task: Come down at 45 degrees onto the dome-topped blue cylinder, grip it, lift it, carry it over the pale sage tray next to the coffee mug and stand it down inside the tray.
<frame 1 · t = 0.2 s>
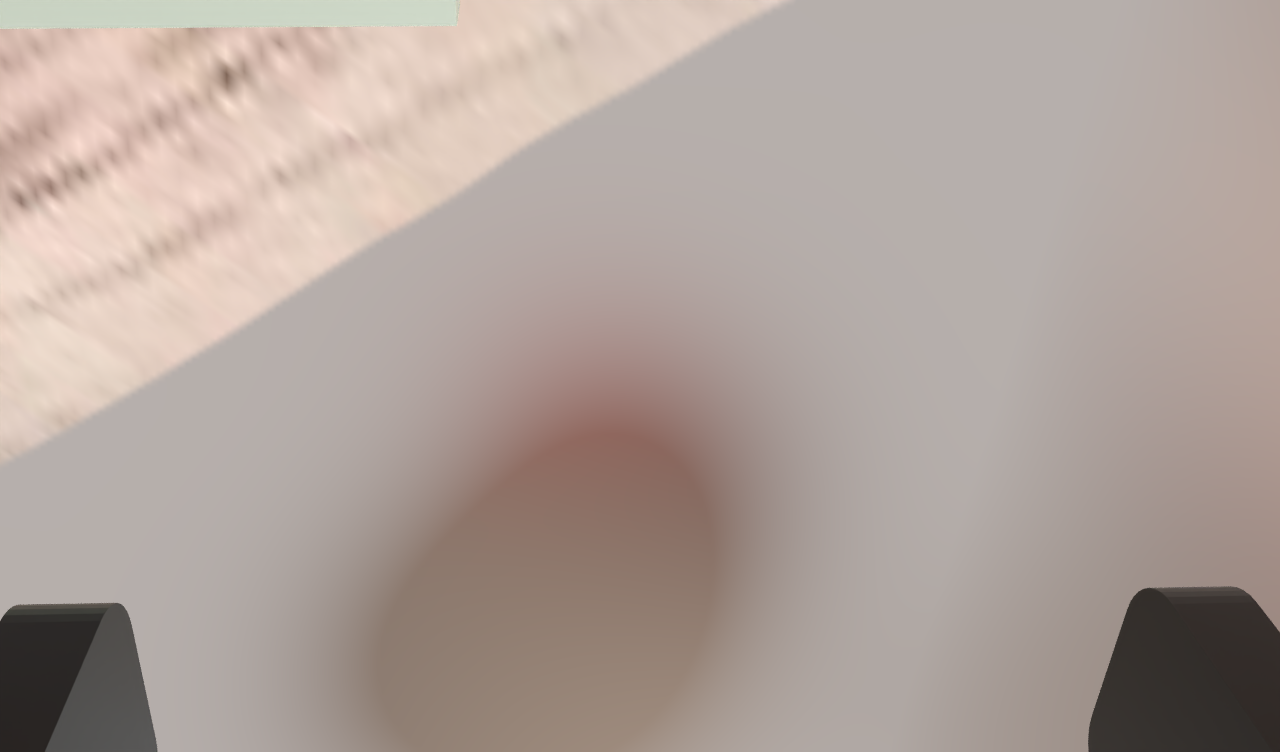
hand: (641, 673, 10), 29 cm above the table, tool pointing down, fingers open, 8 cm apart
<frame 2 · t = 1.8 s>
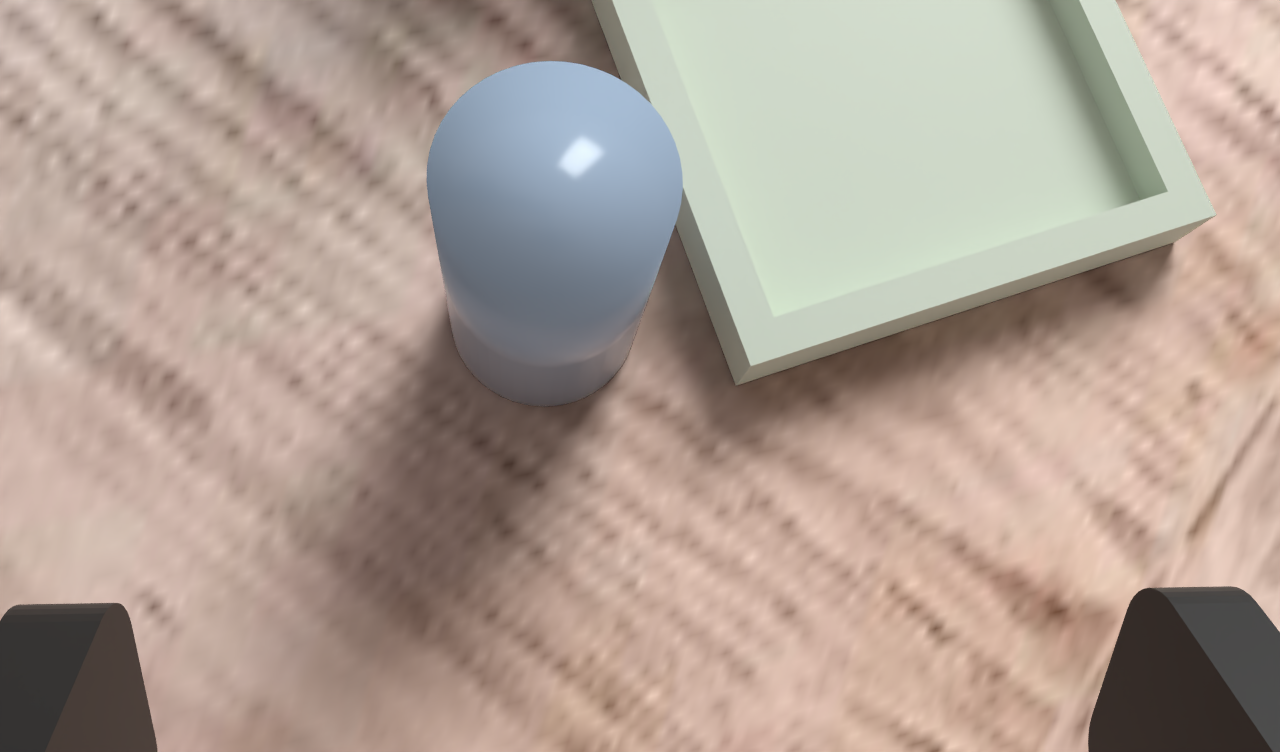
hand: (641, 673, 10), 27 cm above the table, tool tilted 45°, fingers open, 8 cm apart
dome-topped blue cylinder: (544, 316, 38), on the table
sage tray: (872, 95, 41), on the table
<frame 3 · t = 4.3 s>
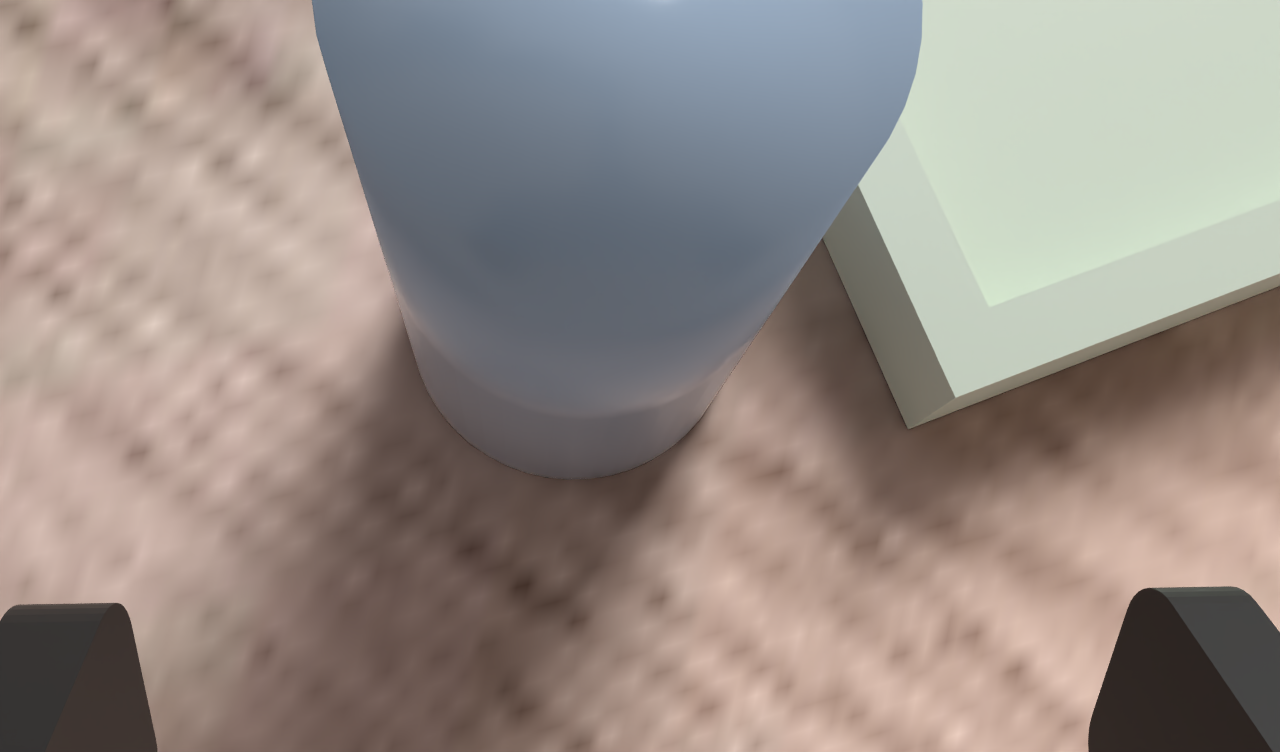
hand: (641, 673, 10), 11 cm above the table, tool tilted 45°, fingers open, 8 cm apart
dome-topped blue cylinder: (573, 321, 22), on the table
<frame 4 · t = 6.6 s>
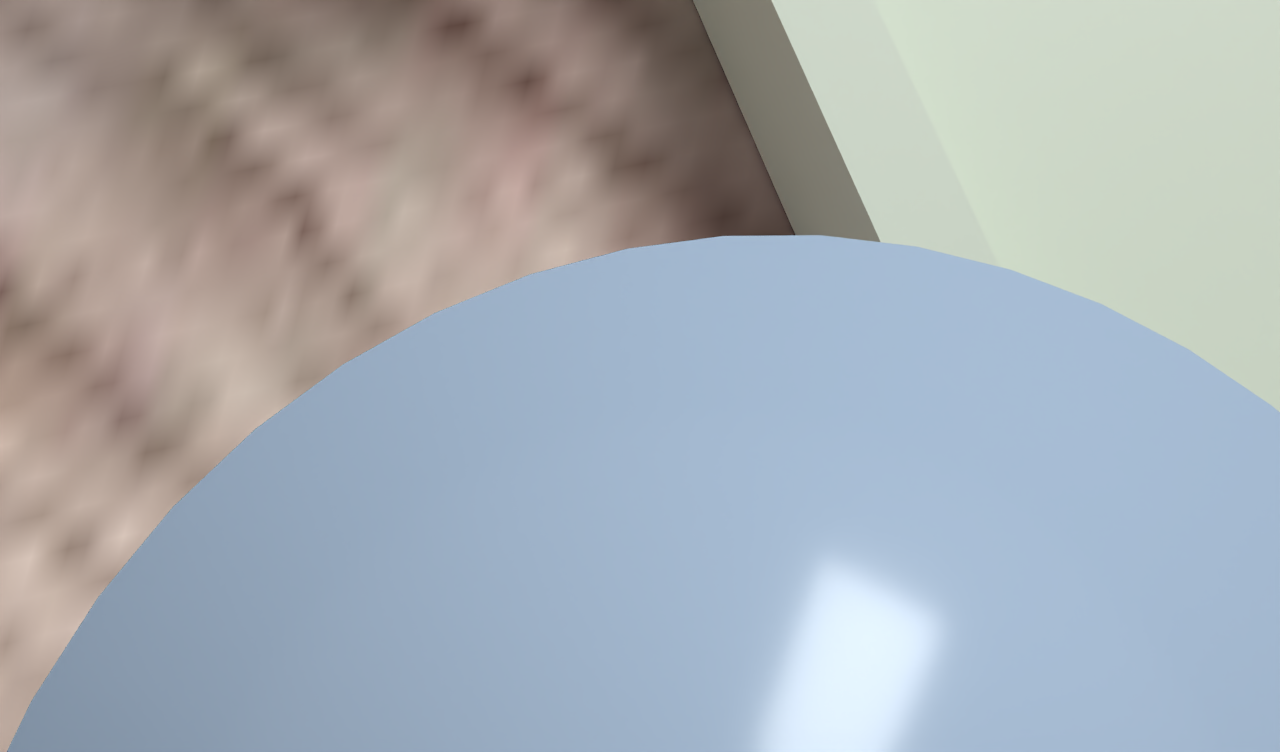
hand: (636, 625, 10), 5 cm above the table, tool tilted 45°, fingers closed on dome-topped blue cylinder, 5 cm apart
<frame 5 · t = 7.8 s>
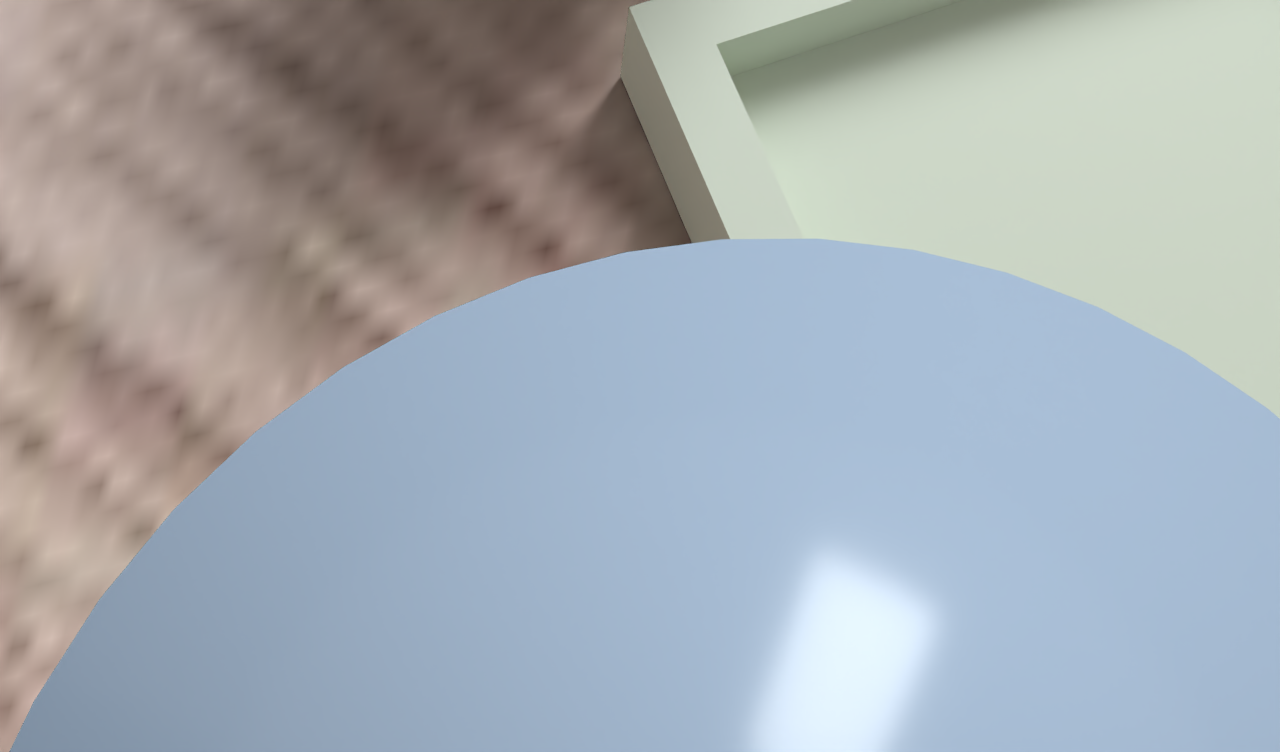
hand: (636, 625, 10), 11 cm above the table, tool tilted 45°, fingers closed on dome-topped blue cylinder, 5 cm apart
sage tray: (1150, 302, 24), on the table
when the fingers open (7 cm above the table, at t = 11.8 s): dome-topped blue cylinder drops 1 cm, resting on sage tray.
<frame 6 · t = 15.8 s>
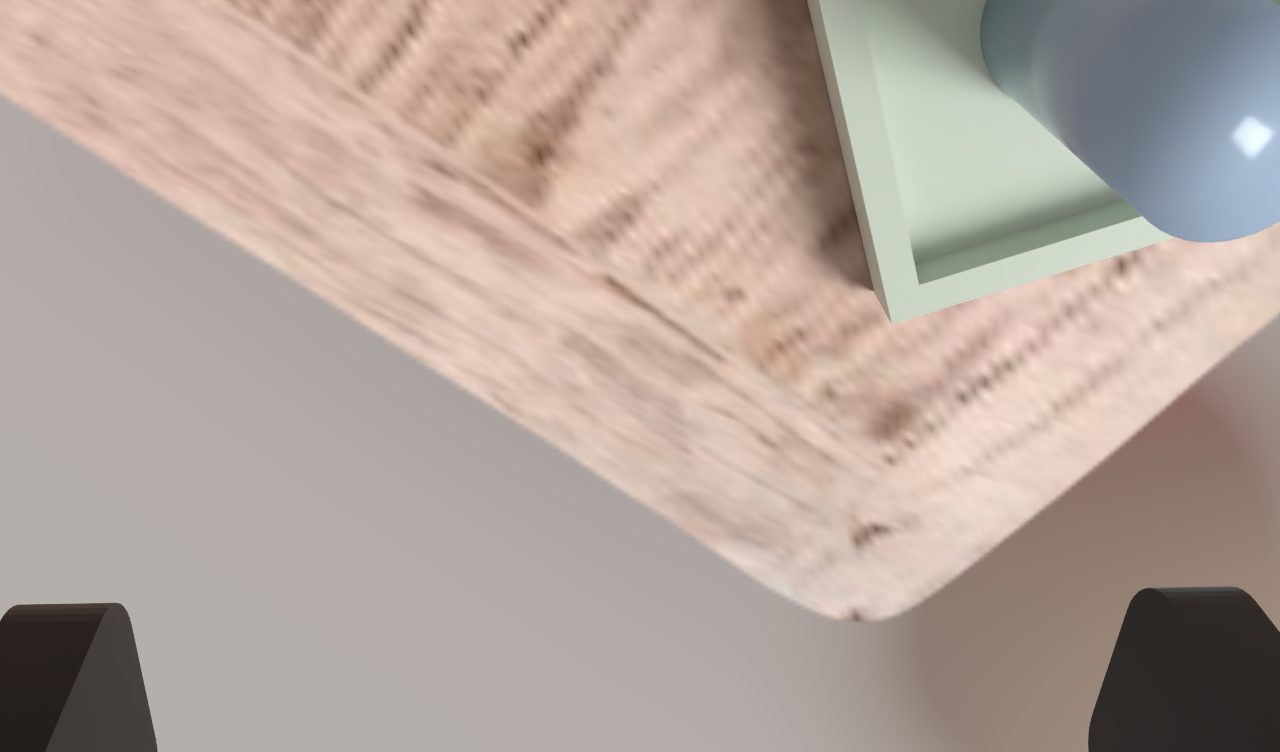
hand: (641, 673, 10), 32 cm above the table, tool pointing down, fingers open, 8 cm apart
dome-topped blue cylinder: (1069, 20, 39), point 1 cm above the table, touching sage tray
sage tray: (1061, 14, 40), on the table
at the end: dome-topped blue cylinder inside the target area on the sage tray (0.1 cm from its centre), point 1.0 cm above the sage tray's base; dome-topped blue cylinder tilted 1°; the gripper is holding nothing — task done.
